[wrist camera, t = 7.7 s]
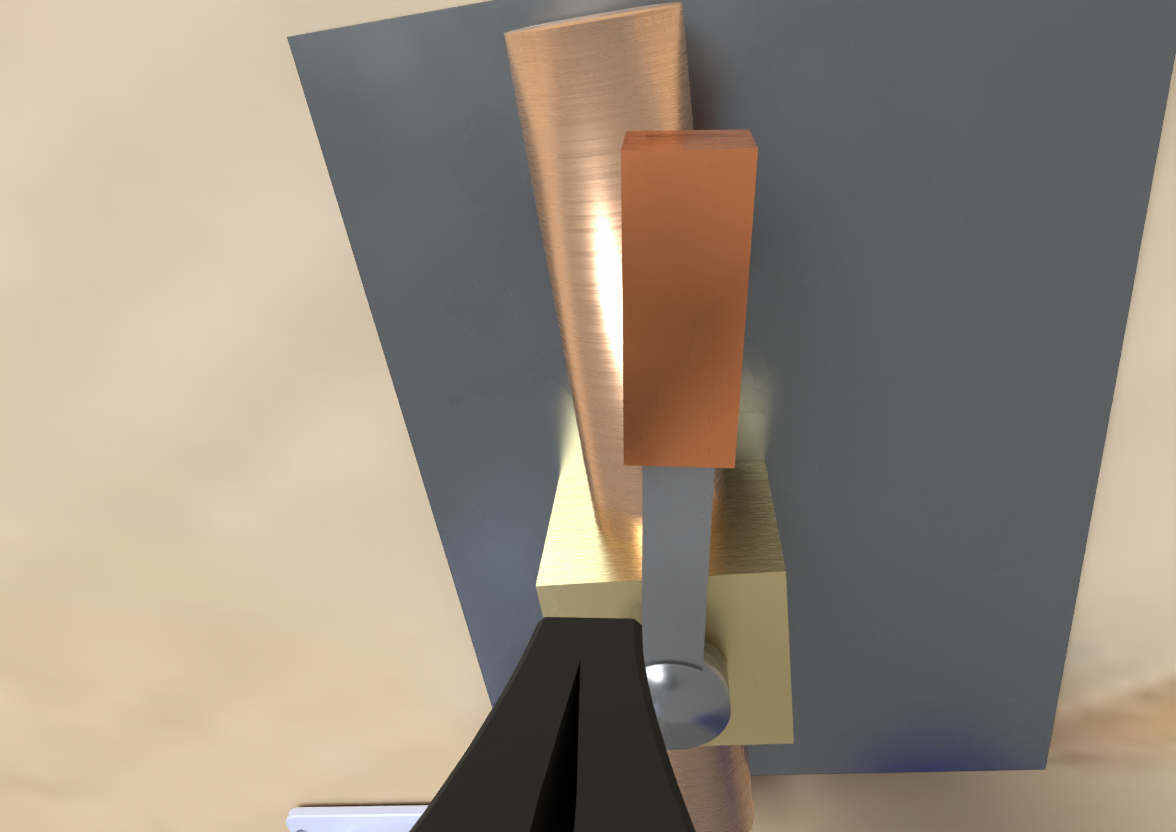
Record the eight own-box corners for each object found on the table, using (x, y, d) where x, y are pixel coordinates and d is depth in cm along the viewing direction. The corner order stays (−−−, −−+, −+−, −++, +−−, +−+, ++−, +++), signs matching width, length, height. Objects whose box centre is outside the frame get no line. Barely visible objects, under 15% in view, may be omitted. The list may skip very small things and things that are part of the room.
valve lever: (724, 706, 18) (727, 761, 16) (616, 701, 18) (611, 754, 17) (769, 129, 12) (781, 148, 10) (605, 131, 12) (598, 150, 11)
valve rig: (1034, 746, 24) (1110, 910, 20) (518, 758, 26) (490, 907, 22) (1180, -123, 13) (1408, -162, 9) (303, 34, 16) (174, 58, 12)
